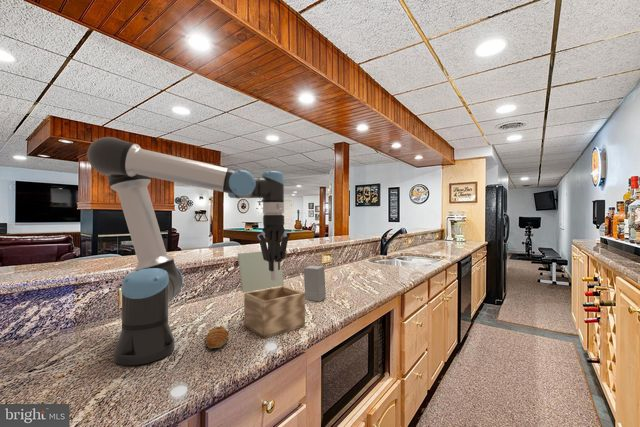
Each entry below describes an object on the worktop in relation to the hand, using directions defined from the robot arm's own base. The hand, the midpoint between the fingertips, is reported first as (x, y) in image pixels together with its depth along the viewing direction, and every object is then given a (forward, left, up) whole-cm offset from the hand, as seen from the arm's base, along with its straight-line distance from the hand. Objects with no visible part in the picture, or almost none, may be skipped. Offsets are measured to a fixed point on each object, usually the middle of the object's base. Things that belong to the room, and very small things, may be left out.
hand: (274, 279), depth 107 cm
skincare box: (+33, +17, -17) cm, 42 cm away
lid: (0, +7, -5) cm, 9 cm away
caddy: (0, 0, -17) cm, 17 cm away
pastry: (-24, -1, -18) cm, 30 cm away
